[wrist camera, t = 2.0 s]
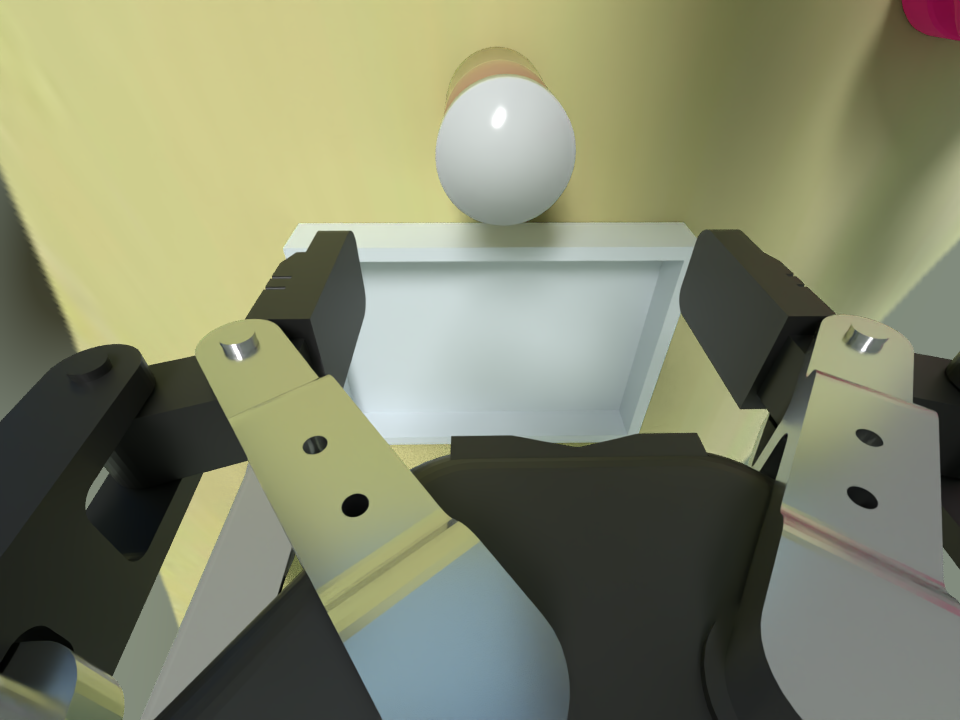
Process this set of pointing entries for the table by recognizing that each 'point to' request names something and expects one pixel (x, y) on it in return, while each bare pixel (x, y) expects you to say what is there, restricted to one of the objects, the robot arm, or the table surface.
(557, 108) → the shaker
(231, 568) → the cassette tape recorder
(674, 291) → the tray
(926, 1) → the pepper mill
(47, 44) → the table surface
